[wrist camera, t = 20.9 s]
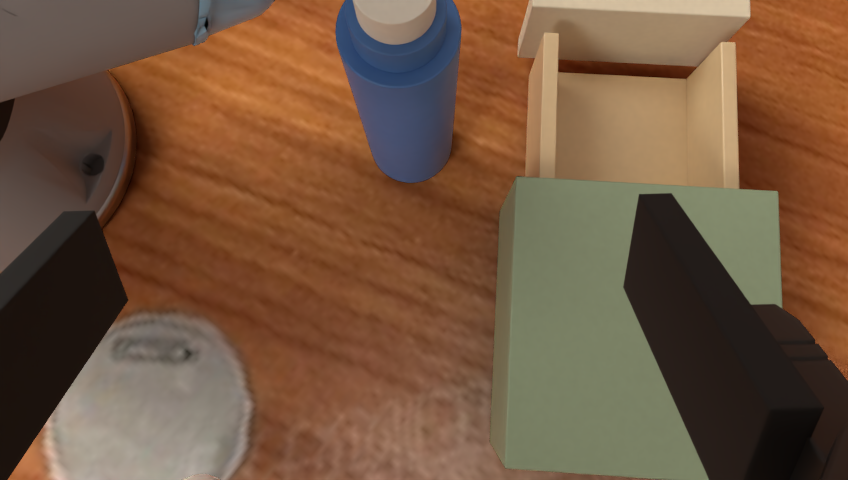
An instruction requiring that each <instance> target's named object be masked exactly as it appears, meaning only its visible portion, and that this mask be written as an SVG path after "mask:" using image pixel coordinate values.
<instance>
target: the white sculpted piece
mask: <svg viewBox="0 0 848 480" xmlns="http://www.w3.org/2000/svg"><path fill="white" fill-rule="evenodd" d="M183 480H220V479H219V478H217V477H214V476H211V475H208V474H198V475H193V476H189V477H187V478H185V479H183Z"/></svg>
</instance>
